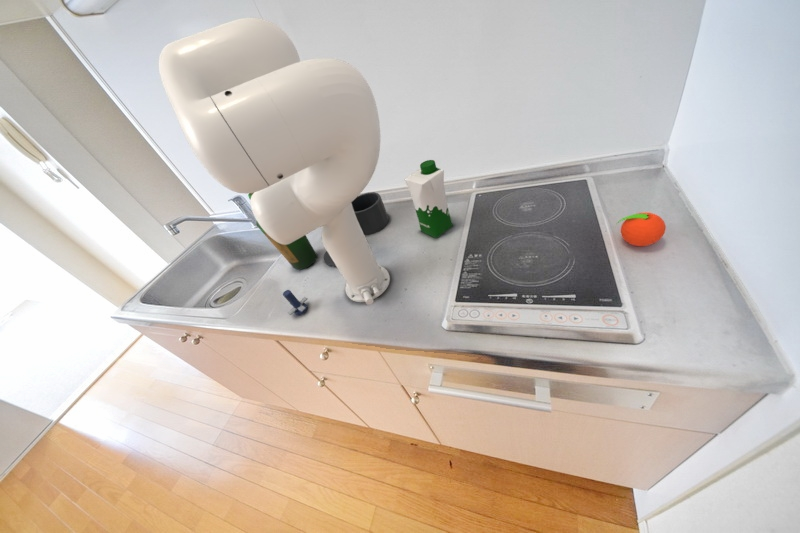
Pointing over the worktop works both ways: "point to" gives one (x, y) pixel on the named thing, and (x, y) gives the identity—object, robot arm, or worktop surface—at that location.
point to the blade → (295, 303)
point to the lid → (328, 259)
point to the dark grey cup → (370, 212)
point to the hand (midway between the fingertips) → (322, 214)
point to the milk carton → (430, 199)
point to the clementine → (642, 229)
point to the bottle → (294, 250)
